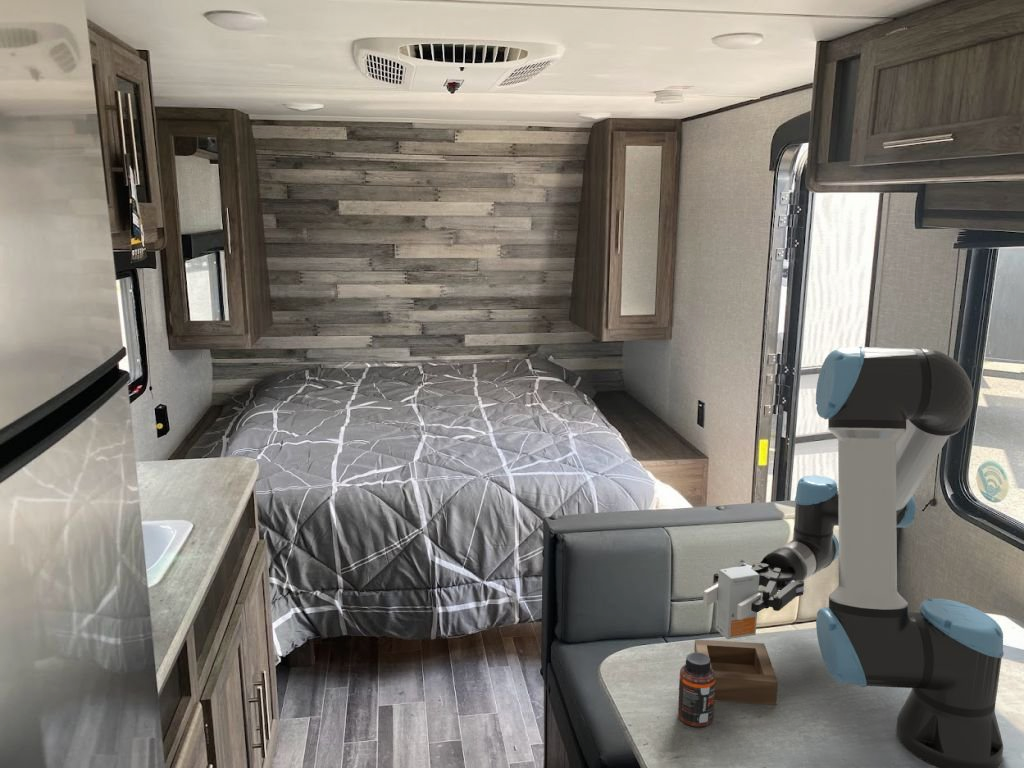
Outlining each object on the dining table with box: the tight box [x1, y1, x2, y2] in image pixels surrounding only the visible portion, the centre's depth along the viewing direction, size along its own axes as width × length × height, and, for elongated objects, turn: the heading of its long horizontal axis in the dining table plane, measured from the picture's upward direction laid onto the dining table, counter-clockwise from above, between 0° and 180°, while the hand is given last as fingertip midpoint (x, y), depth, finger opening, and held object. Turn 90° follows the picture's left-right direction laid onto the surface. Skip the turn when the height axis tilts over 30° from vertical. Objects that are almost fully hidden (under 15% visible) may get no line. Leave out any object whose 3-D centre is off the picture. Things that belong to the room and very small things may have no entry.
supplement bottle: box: [677, 652, 715, 728], centre depth 134 cm, size 6×6×11 cm
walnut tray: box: [693, 638, 779, 706], centre depth 145 cm, size 13×13×4 cm
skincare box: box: [715, 566, 760, 640], centre depth 143 cm, size 6×4×12 cm
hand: (722, 605), depth 139 cm, fingers closed on skincare box, 6 cm apart
